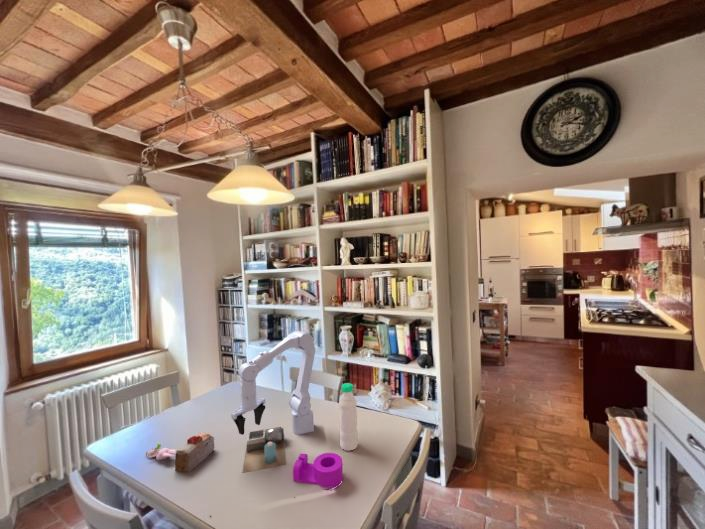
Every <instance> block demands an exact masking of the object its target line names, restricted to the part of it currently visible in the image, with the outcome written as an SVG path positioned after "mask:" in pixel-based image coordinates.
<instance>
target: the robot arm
mask: <svg viewBox="0 0 705 529" xmlns="http://www.w3.org/2000/svg"><path fill="white" fill-rule="evenodd" d="M314 341H315V339H314V338H313V336H312V335H311V334H309V332H308V333H307V332H304V331H301V330H299V329H297V330H294V331H292V332H291V333H289V334H288V335H287V336H286V338H284V339H283V340H282V341H280V342H279V343H277V345H275V346H274V347H273V348H271V349H270V350H268V351H266V350H264V351H260V352H259V353H258V355H257V356H256V357H254V358H253V359H249V360H248V362H244V363H242V364H241V365H240V367H239V368H238V370H237V373H238V375H239V377H240V406H239V407H238V408H237V409H235V410H234V411H232V412H231V413H230V414H231V418H230V419H232V420H233V422H234V424H235V425H236V427H237V432H238V434H239V435H241V436H243V435H245V422H246V419H247V418H246V417H245V416H244V414H246V413H248V412H252V411H253V415H254V424H255V425H257V426H260V425H261V422H262V417H263V415H264V412H265V410H266V405H264V404H266V398H263V397H261V398H258V399H257V381H256V378H257V377H258V376H259V373H260V372H262V371H263V370H265V369H266V368H267V367H268V366H270V365H271V364H272V363H273V361H274V359H275V358H276V357H278V356H279V355H281V354H283V353H284V352H286V351H287V350H288V349H290V348H293V349H294V348H296V349H299V350H300V351H301V352H302V353H301V354H302V355H301V360H300V365H299V370H298V376H297V381H296V387H295V389H294V390H292V393H291V396H290V397H289V399H288V405H289V407H290V408H291V431H292V434H294V435H297V436H298V435H299V436H300V435H301V436H302V435H305V434H307V433H312V432H315V425H314V424H315V422H314V411H313V410H312V409H311V407H312V404H311V394H310V393H309V392H310V391H309V388H310V383H311V382H310V381H311V376H312V371H313V366H314V361H315V355H316V347H315V343H314Z"/></svg>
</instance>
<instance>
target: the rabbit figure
mask: <svg viewBox="0 0 705 529" xmlns="http://www.w3.org/2000/svg"><path fill="white" fill-rule="evenodd" d="M161 447H162V444H161V443H159V442H158V443H156V446H155V447H152V448H151V449H152V450H150V451H146V452H145V456H147V457H148V458H149V459H153V458H155V457H156V460H157V461H160V460H165V459H167V458H169V457H170V458H174V455H176V451H177V449H175V448H174V449H170V448H168V447H163V448H162V449H160V448H161Z"/></svg>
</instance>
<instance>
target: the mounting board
mask: <svg viewBox="0 0 705 529" xmlns="http://www.w3.org/2000/svg"><path fill="white" fill-rule="evenodd" d="M275 445H276V461H275V462H273V463H271V464H267V463H265V450H264V449H263V450H258V451H252V452H247V445H246V447H245V454H244V460H243V467H242V474H244V473H248V472H255V471H259V470H260V471H261V470H264V469H265V470H266V469H269V468H274V467H280V466H284V465H287V462H286V461H287V459H286V441H285V437H284V440H282V442H280V443H275Z"/></svg>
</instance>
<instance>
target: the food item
mask: <svg viewBox="0 0 705 529" xmlns="http://www.w3.org/2000/svg"><path fill="white" fill-rule="evenodd" d="M215 447H216V446H215V437H214V436H213V435H211V434H210V433H208V432H203V431H202V432H199V433H197V434H196V435H193V436H190V437H189V438H188V439H187V442H186V443H185V444H184V445H182V446H181V447H179V449H176V455H175V454H174V455H175V460H174V469H175V470H174V471H175V472H176V471H177V472H180V473H190V472H191V471H193V469H195V468H196V467H197V466H198V465H199V464H200V463H202V462H203V461H204V460H206V458H208V457H209V455H210V454H211V453H212V452H214V449H215Z"/></svg>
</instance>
